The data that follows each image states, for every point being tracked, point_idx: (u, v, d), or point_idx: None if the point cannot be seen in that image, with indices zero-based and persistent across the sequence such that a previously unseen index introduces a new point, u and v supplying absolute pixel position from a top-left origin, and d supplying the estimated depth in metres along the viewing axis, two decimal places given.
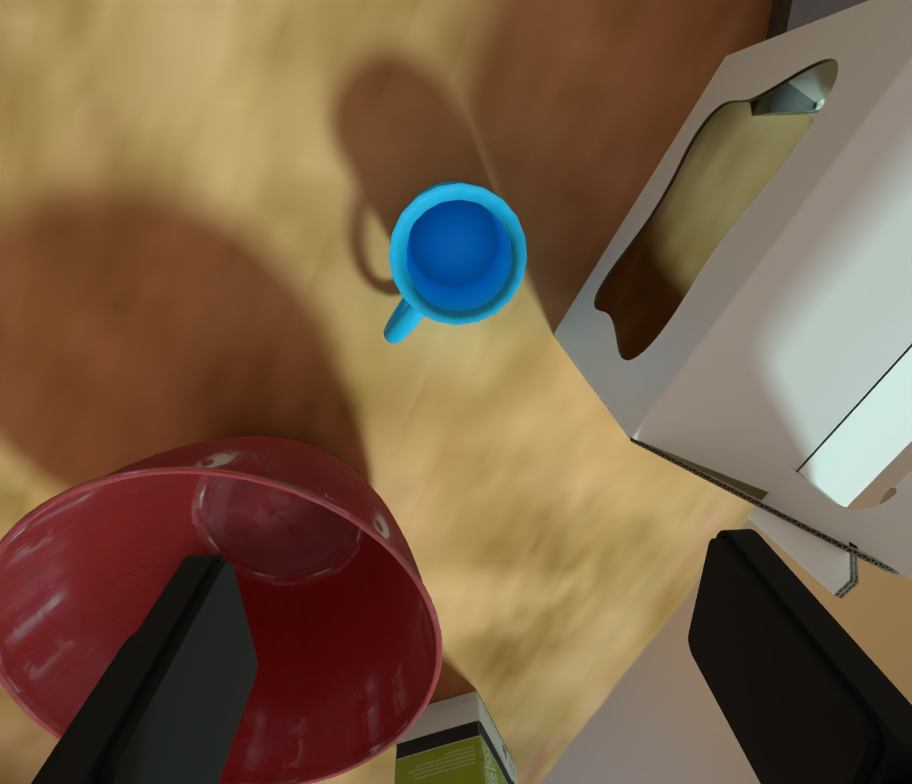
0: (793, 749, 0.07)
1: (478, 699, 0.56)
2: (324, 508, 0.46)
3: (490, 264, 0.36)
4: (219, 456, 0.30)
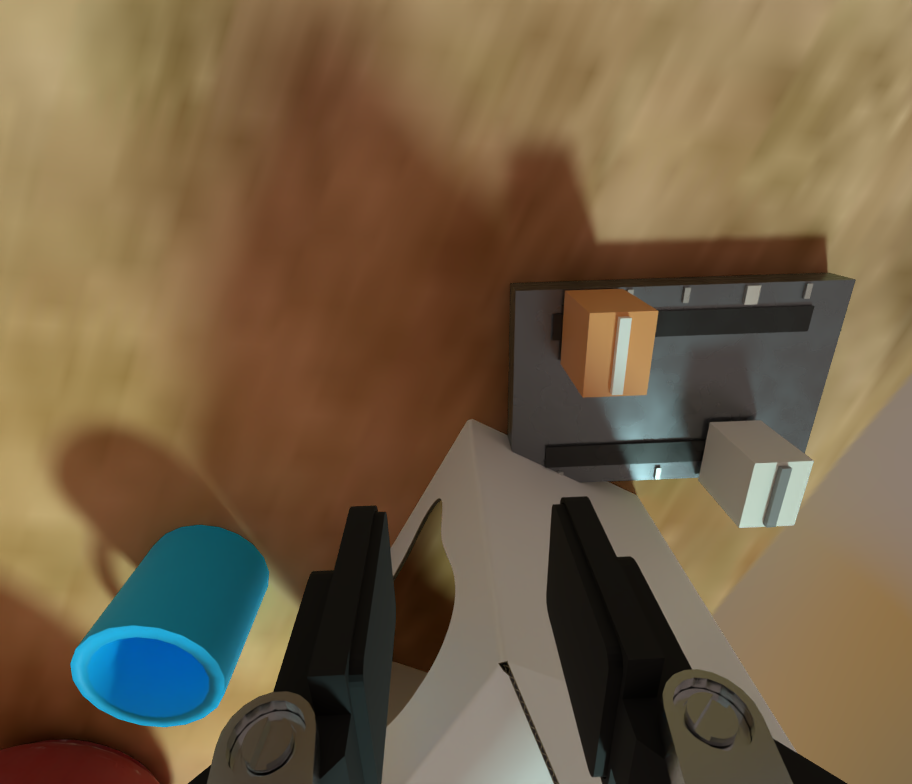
0: (584, 680, 0.08)
1: None
2: None
3: None
4: None
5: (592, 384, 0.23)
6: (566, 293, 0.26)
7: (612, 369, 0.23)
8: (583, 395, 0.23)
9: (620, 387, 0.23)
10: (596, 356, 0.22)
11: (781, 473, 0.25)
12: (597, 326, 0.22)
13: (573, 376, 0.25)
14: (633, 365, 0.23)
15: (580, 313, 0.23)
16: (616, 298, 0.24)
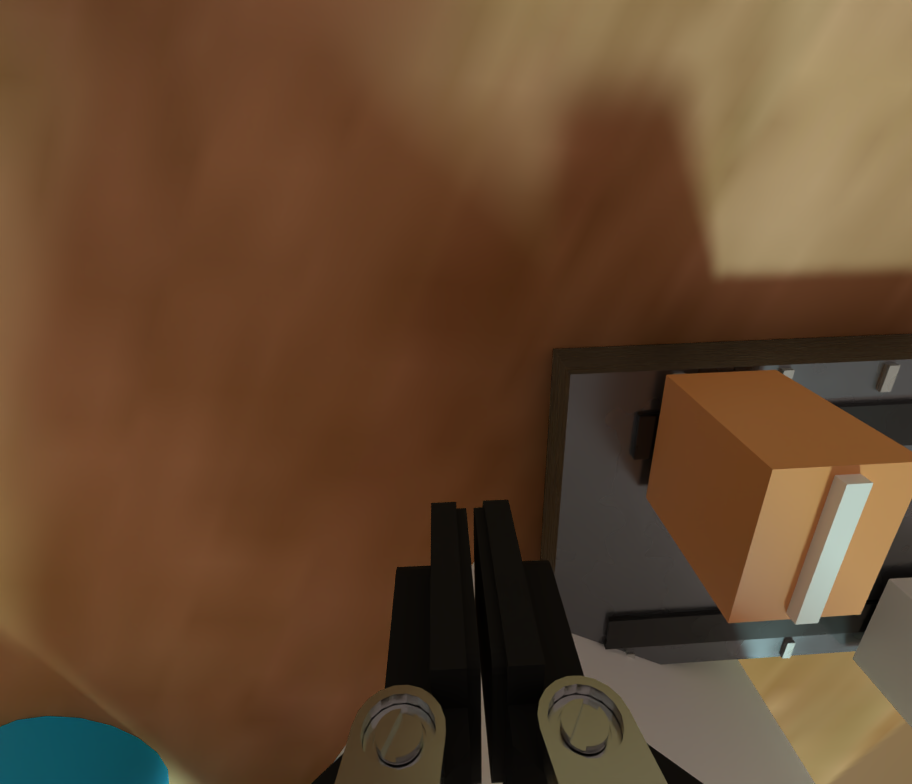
0: (487, 686, 0.08)
1: None
2: None
3: None
4: None
5: (752, 600, 0.11)
6: (671, 382, 0.13)
7: (799, 574, 0.10)
8: (730, 619, 0.11)
9: (816, 610, 0.11)
10: (770, 551, 0.10)
11: None
12: (784, 495, 0.10)
13: (692, 553, 0.12)
14: (846, 563, 0.10)
15: (729, 448, 0.11)
16: (789, 405, 0.12)
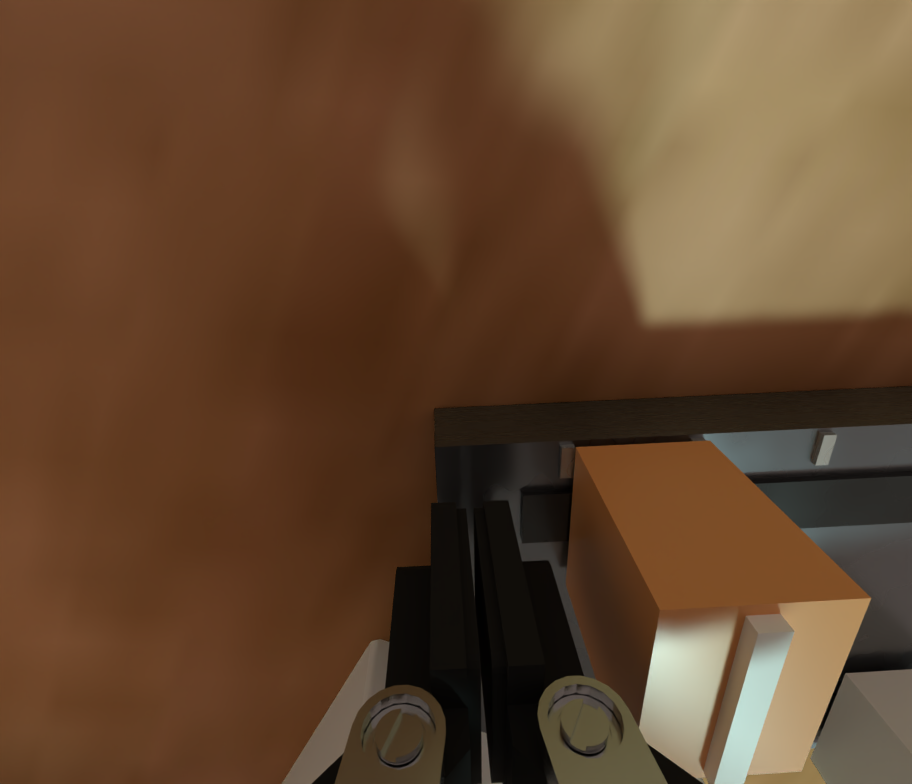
0: (486, 685, 0.08)
1: None
2: None
3: None
4: None
5: None
6: (579, 457, 0.11)
7: (715, 728, 0.08)
8: None
9: (737, 775, 0.08)
10: (671, 703, 0.08)
11: None
12: (681, 640, 0.07)
13: (599, 674, 0.10)
14: (775, 715, 0.08)
15: (624, 560, 0.08)
16: (711, 497, 0.09)
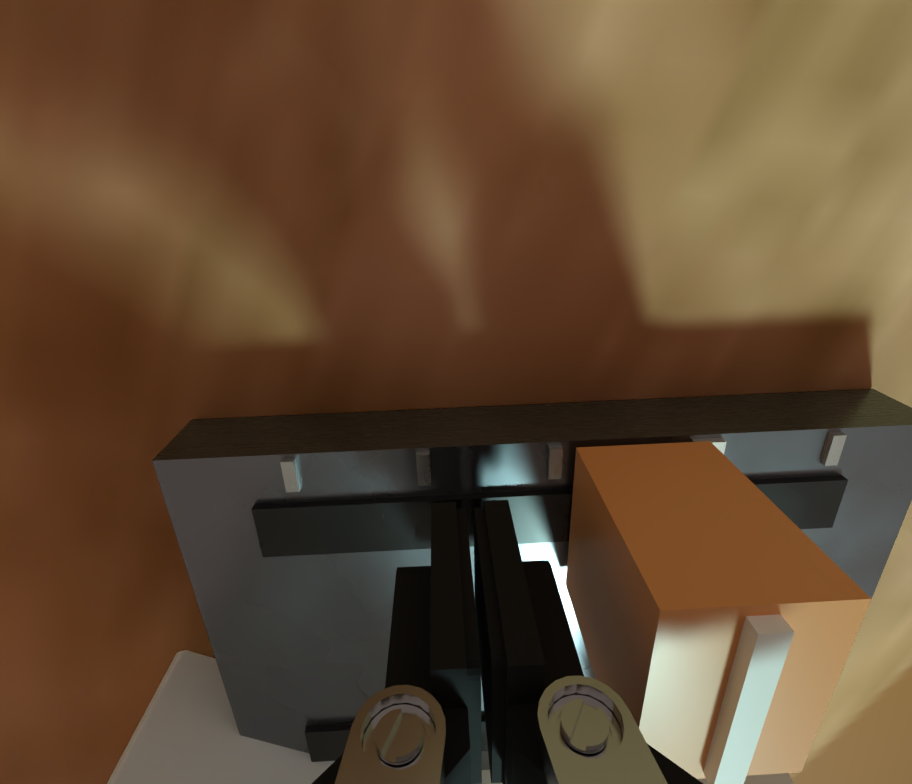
0: (486, 686, 0.08)
1: None
2: None
3: None
4: None
5: None
6: (580, 457, 0.11)
7: (714, 728, 0.08)
8: None
9: (737, 775, 0.08)
10: (671, 703, 0.08)
11: None
12: (680, 640, 0.07)
13: (599, 675, 0.10)
14: (775, 717, 0.08)
15: (624, 561, 0.08)
16: (711, 498, 0.09)
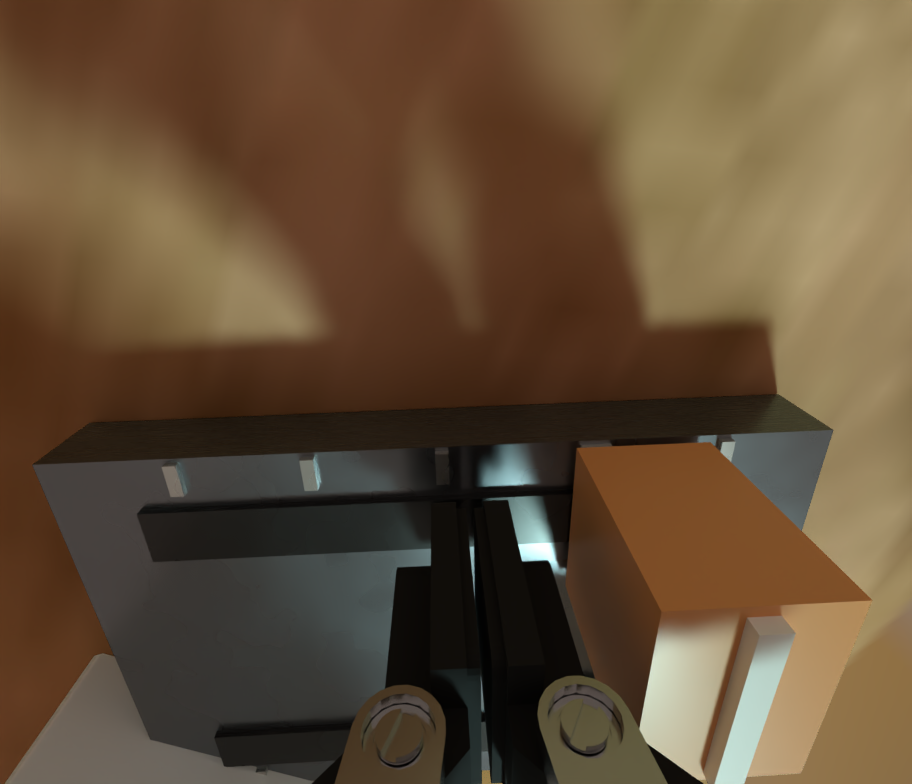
0: (486, 685, 0.08)
1: None
2: None
3: None
4: None
5: None
6: (580, 458, 0.11)
7: (714, 730, 0.08)
8: None
9: (737, 776, 0.08)
10: (672, 705, 0.08)
11: None
12: (681, 642, 0.07)
13: (599, 675, 0.10)
14: (775, 718, 0.08)
15: (625, 562, 0.08)
16: (712, 499, 0.09)
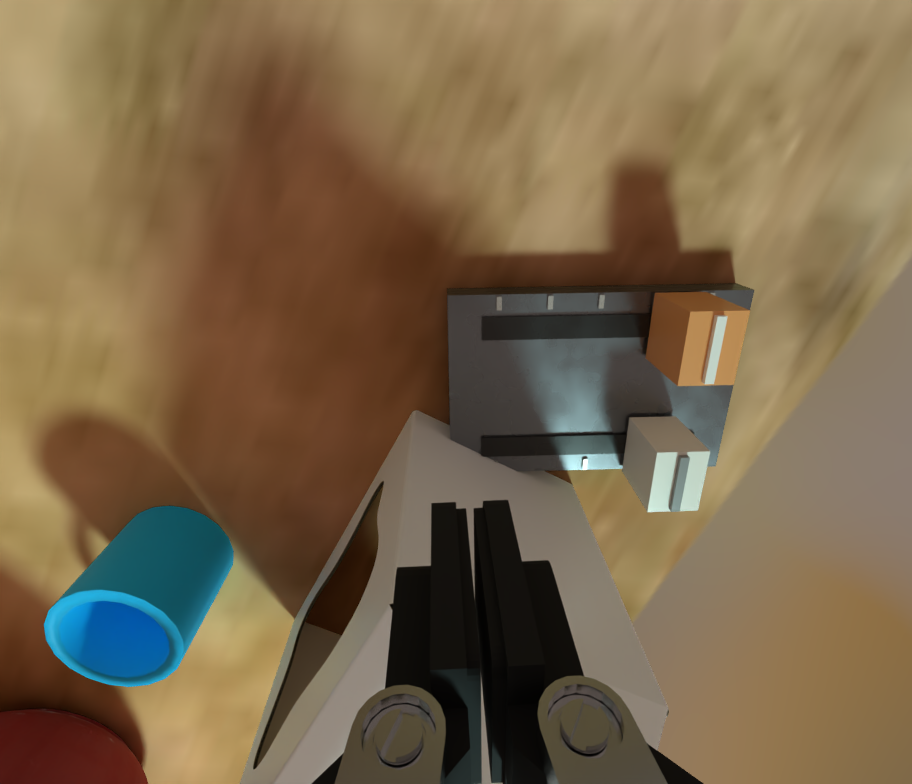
0: (487, 685, 0.08)
1: None
2: None
3: None
4: None
5: (687, 374, 0.26)
6: (656, 295, 0.29)
7: (705, 362, 0.26)
8: (678, 384, 0.26)
9: (712, 377, 0.26)
10: (692, 349, 0.26)
11: (680, 462, 0.28)
12: (695, 323, 0.25)
13: (664, 368, 0.28)
14: (724, 357, 0.26)
15: (677, 312, 0.26)
16: (706, 299, 0.27)
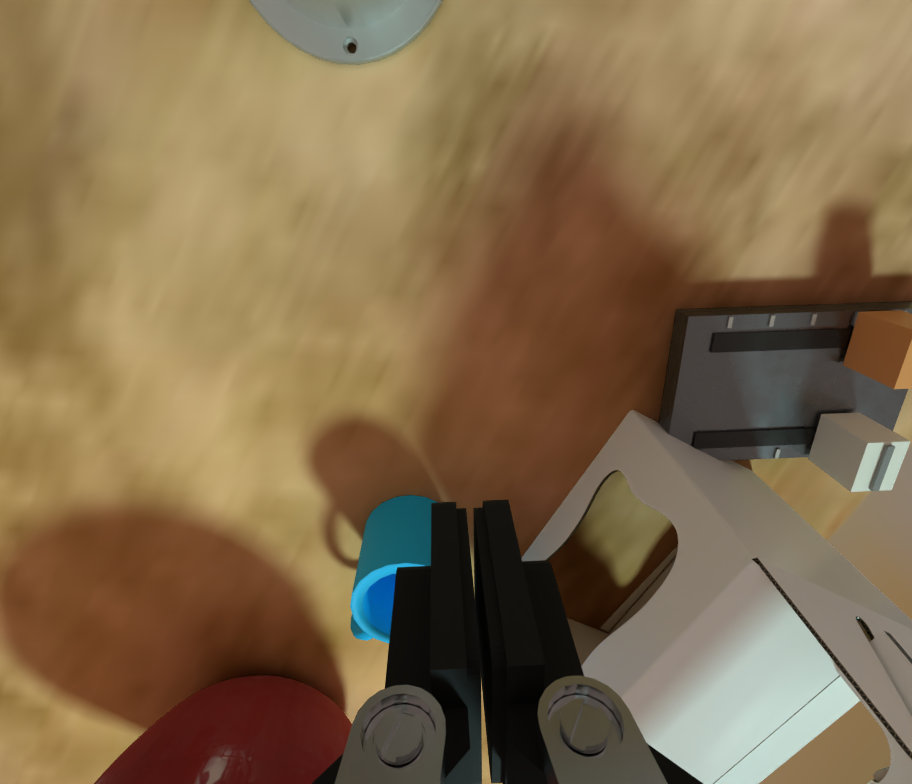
0: (487, 685, 0.08)
1: None
2: None
3: None
4: (214, 763, 0.37)
5: (903, 379, 0.33)
6: (862, 314, 0.35)
7: None
8: (894, 387, 0.33)
9: None
10: (911, 360, 0.32)
11: (887, 450, 0.34)
12: None
13: (874, 374, 0.34)
14: None
15: (895, 329, 0.33)
16: (911, 318, 0.33)
